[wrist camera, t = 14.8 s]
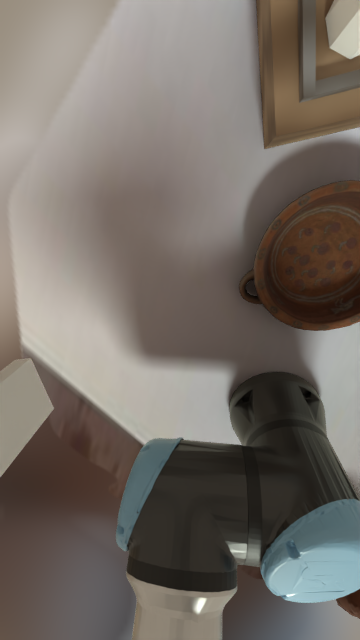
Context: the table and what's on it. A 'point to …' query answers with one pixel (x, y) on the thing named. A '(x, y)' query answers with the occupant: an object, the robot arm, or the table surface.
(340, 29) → the pepper shaker
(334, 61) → the display riser
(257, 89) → the table surface
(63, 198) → the table surface
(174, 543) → the robot arm
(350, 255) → the dish
